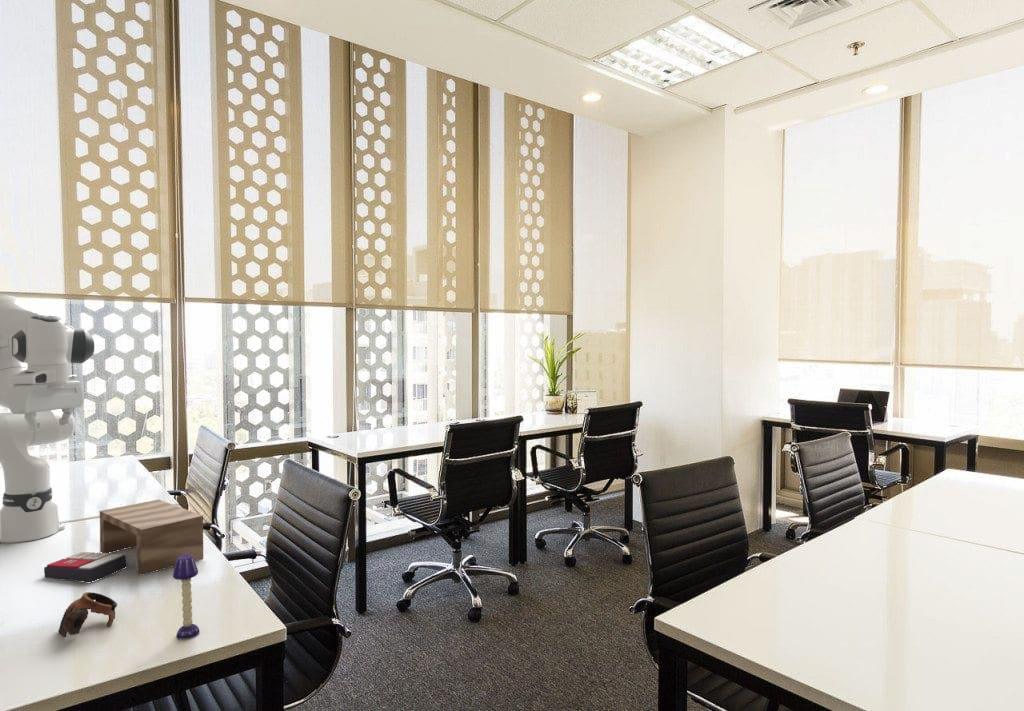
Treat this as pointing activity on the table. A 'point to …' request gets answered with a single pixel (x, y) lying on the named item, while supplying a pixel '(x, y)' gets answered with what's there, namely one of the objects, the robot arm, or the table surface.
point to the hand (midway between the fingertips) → (49, 427)
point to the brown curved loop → (86, 612)
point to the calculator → (85, 566)
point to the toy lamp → (186, 594)
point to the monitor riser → (152, 533)
